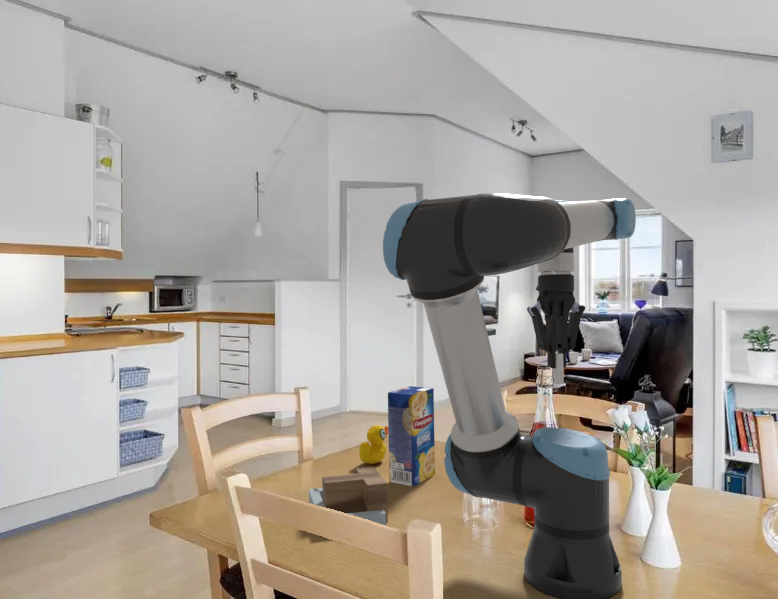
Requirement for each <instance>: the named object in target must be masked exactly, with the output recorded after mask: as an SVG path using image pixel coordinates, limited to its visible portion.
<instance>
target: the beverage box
mask: <svg viewBox="0 0 778 599" xmlns="http://www.w3.org/2000/svg"><path fill="white" fill-rule="evenodd" d="M434 389H435V388H434V387H424V386H411V385H410V386H405V387H403V388H398V389H395V390H392V391H389V392H387V414H388V416H387V421H388V426H387V427H388V469H389V470H388V472H389V473H388V475H389V478H388V479H389V483H393V484H399V485H404V486H408V487H416V486H417V485H418V484H421V483H423V482H424V481H425V480H427V479H430V478H431V477H433V476H435V474H436V458H435V457H436V455H435V448H436V447H435V400H434V394H435V393H434V392H435V391H434Z"/></svg>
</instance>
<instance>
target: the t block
mask: <svg viewBox="0 0 778 599" xmlns="http://www.w3.org/2000/svg"><path fill="white" fill-rule="evenodd" d="M321 478H322V479H321V481H322V482H321V483H322V487H321V488H323V502H324V505H325V507H326V508H330V509H334V510H337V511H341V512H344V513H348V514H349V513H358V512H366V511H375V510H384V511H385V513H386V523H388V521H389V520H388V516H389V515H388V483H387V481H386V480H385V479H384V478H383V477H382V475H381V474H380V473H379V472H378V470H377V469H376V467H375V466H366V467H365V466H363V467H356V468H355V473H353V474H351V473H350V474H340V475H331V476H330V475H329V476H322V477H321Z"/></svg>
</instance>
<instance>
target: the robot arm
mask: <svg viewBox="0 0 778 599" xmlns="http://www.w3.org/2000/svg"><path fill="white" fill-rule="evenodd" d="M636 218H637V217H636V209H635V205H634V203H633V201H632V200H631V199H630V198H628V197H626V198H625V197H623V198H614V197H613V198H609V199H599V200H598V199H597V200H579V201H570V200H561V199H560V200H559V199H558V200H557V199H556V200H555V199H554V198H551V197H547V196H543V195H542V196H539V195H538V196H535V195H523V194H515V193H514V194H512V193H504V192H503V193H501V192H500V193H499V192H486V193H478V194H470V195H462V196H454V197H443V198H433V199H428V198H424V199H423V198H422V199H421V200H418V201H415V202H407V203H404V204H402V205H400V206H399V207H397V208H396V209H395V210H394V211H393V212H392V214H390V217H389V218H388V221H387V223H386V227H385V231H384V232H383V239H382V254H383V259H384V263H385V266H386V268H387V271H388V272H389V273H390V274H391V275H393V277H394V278H396V279H398V280H402V281H404V280H406V282H407V286H408V289H409V292H410V296H411V298H413V300H416V301H417V302H420V303H422V304H423V306H424V309H425V313H426V314H425V315H426V317H427V322H428V324H429V328H430V332H431V336H432V339H433V342H434V346H435V350H436V354H437V357H438V361H439V364H440V369H441V372H442V376H443V380H444V383H445V387H446V390H447V394H448V397H449V398H448V399H449V401H450V405H451V409H452V412H453V416H454V420H455V423H454V424H453V426H452V428H451V431H450V433H449V435H448V437H447V439H446V442H445V445H444V446H445V447H444V454H445V457H444V458H443V460H444V462H443V463H444V468H445V469H444V470H445V473H446V475H447V477H448V480H449V482H450V483H451V484H452V486H453V487H454V488H455V489H456V490H457V491H459V492H461V493H464V494H467V495H470V496H472V497H475V498H481V499H488V500H494V501H497V502H498V501H499V502H503V503H508V504H514V505H518V506H524V507H529V508H532V509H533V513H534V528H533V530H532V534H531V537H530V539H529V540H530V541H529V544H528V546H527V550H526V553H525V556H524V561H523V569H524V570H523V573H524V578H525V579H526V581H527V582H528V583H529V584H530V585H531V586H532V587H533V588H535V589H537V590H539V591H540V592H543V593H544V594H547V595H550V596H552V597H556V598H561V599H607V598H610V597H613V596H614V595H616V594H617V593H618V592H620V590H621V589H622V586H623V585H622V584H623V582H622V581H623V580H622V576H623V574H622V567H621V565H620V561H619V558H618V555H617V552H616V549H615V546H614V544H613V541H612V538H611V535H610V476H611V470H610V467H609V457H608V456H609V454H608V450H607V447H606V445H604V443H603V442H602V441H601V440H599V439H597V438H596V437H594V436H592V435H590V434H588V433H585V432H583V431H579V430H575V429H572V428H571V429H570V428H565V427H564V428H563V427H559V428H557V427H552V426H551V427H549V426H548V427H547V426H545V427H541V428H537V429H536V430H534V431H533V434H532V435H531V434H523V433H521V430H520V426H519V422H518V419H517V417H515V415H513V413H511V412H509V411H508V410H506V405H505V402H504V397H503V394H502V389H501V386H500V385H501V384H500V382H499V377H498V371H497V369H496V368H497V367H496V364H495V360H494V356H493V351H492V347H491V342H490V339H489V334H488V330H487V326H486V322H485V317H484V313H483V308H482V305H481V299H480V296H479V292H478V290H479V288H480V286H481V285H482V284H483V283H484V280H485V277H487V276H489V277H491V276H497V275H503V274H507V273H512V272H514V271H518V270H521V269H525V268H529V267H532V266H535V265H537V272H538V273H540V274H539V275H538V276H537V291H538V297H537V299H536V302H535V303H534V304H533V305H532V306H527V308H526V311H527V312H528V314H529V316H530V318H531V322H532V325H533V329H534V334H535V339H536V343H537V347H538V349H539V350H540V351H544V352H545V353H546V354H547V355H546V356H547V358H546V359H547V360H546V361H547V365H546V366H547V368H548V367H551V368H552V369H553V378H554V383H553V384H555V385H564V382H565V381H564V368H567V354H568V353H570V351H571V350H575V348H576V344H577V341H578V340H577V339H578V335H579V334H578V333H579V329H580V323H581V320H582V319H581V318H582V316H583V314H584V312H585V310H586V306H585V305H581V304H579V303H578V302H576V297H575V296H574V291H575V276H574V274H572V272H574V271H575V259H574V258H575V257H574V256H575V255H574V251H575V250H574V248H576V247H580V246H583V245H587V244H592V243H596V242H602V241H611V240H615V241H618V240H621V239H630V238H631V237H632V236H633V235H634V233H635V230H636V222H637V219H636ZM570 311H571V313H570ZM542 312H543V314H544V320H543V316H542V314H541V313H542ZM569 313H570V315H569ZM544 321H545V325H544ZM551 368H550V369H551Z"/></svg>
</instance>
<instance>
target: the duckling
mask: <svg viewBox="0 0 778 599" xmlns="http://www.w3.org/2000/svg"><path fill="white" fill-rule="evenodd" d="M387 436H389V430H388V426H387V425H385V426H384V427H383V426H381V425H378V424H374V425H372V426H370V428H368V430H367V433H366V438H367V440H368V441H363V442H361V443H360V446H359V452H358V454H359V458H360V460H361V461H362V462H363V463H364V464H367V465H368V464H369V465H374V464H377V463H380V462H382V461H383V459H384V458H385V456H386V454H387V445H386V444H385V443H384V441H385V440H386V437H387Z"/></svg>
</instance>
